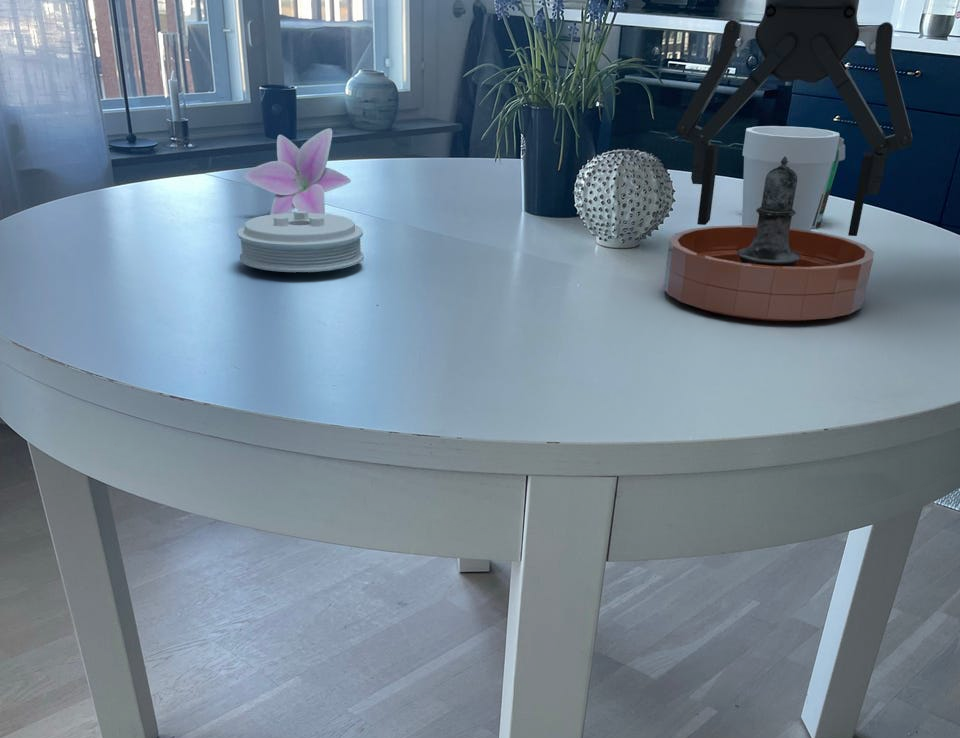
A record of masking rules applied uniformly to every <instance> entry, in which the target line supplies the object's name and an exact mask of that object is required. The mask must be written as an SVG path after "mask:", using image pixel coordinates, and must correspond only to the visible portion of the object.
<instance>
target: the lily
mask: <svg viewBox="0 0 960 738" xmlns="http://www.w3.org/2000/svg"><path fill="white" fill-rule="evenodd" d="M332 139H333V129H332V128H331V127H330V128H325V129H323V130H321V131H319V132H318V133H316V134H315V135H313V136H312V137H310V138H309V139H307V140H306V141H305V142H304V143H303V144H302V145H301V146H300V148H298V146H297V145H296V144H295V143H293V141H291V140H290V139H289V138H287V137H286V136H284V135H283V134H278V135H277V138H276V157H277V160H273V161H268V162H264V163H261V164H259V165H257V166H255V167H252V168H250V169H249V170H247V171H245V172H244V174H243V175H242V176H243V178H244V179H245V180H246V181H247V182H249V183H251V184H253V185H254V186H257V187H259V188H261V189H263V190H265V191H267V192H268V193H269V192H270V193H272V194H274V196H273V197H274V198H273V200H272V205H271V209H270V215H272V214H282V213H292V211H294V209H296V211H307V212H308V213H321V214H326V206H325V205H326V204H325V203H326V202H325V201H326V199H325V193H327V192H331V191H333V190H336V189H338V188H339V189H340V188H342V187H344V186H346V185H348V184H350V183H351V182H352V180H351V179H350V178H349V177H348V176H347V175H345V174H343V173H342V172H340V171H337V170H335V169H333V168H330V167H327V164H328V161H329V156H330V155H329V154H330V150H331V145H332V141H333V140H332Z"/></svg>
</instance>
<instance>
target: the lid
mask: <svg viewBox="0 0 960 738" xmlns="http://www.w3.org/2000/svg"><path fill="white" fill-rule="evenodd" d="M236 234H237V235H236V236H237V238H238V239H240V245H241V253H240V255H239V261H240V262H241V263H242V264H244V265H245V266H248V267H251V268H255V269H257V270H258V269H259V270H264V271H269V272H271V271H272V272H282V273H283V272H284V273H296V272H308V273H316V272H326V271H327V272H328V271H335V270H340V269H341V270H342V269H345V268H348V267H353V266H355V265H358V264H359V263H361V262H363V260H364V259H365V254H364V252H363V251H362V248H361V247H362V245H361V238H362V237H363V235H364V230H363V228H361V226H360V227H359V225H356V223H355V221H354V220H353V219H351V218H348V217H345V216H342V215H337V214H329V213H325V214H321V213H308V212H307V211H298V210H296V211H293V212H289V213H282V214H272V215H271V214H266V215H261V216H255V217H253V218H250V219H248V220H246V221H245V222H244V224H243V226H242V227H240V228H239V229H237V231H236Z"/></svg>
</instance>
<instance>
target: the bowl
mask: <svg viewBox="0 0 960 738" xmlns="http://www.w3.org/2000/svg"><path fill="white" fill-rule="evenodd" d="M756 231H757V226H744V225H742V224H741V225H740V224H738V225H733V224H732V225H712V226H704V227H695V228H690V229H689V228H688V229H685V230H682V231H679V232H677V233H674V235H672V236H671V237H670V238H669V240H668V248H667V257H666V264H665V265H666V266H665V274H664V282H663V287H664V289H665V292H666V293H667V295H668V296H670V297H672V298H673V299H675V300H677V301H678V302H679V303H682V304H686V305H689V306H692V307H695V308H698V309H701V310H704V311H707V312H710V313H714V314H717V315H721V316H727V317H732V318H738V319H745V320H753V321H764V322H767V321H768V322H807V320H808V321H816V320H824V319H833V318H837V317H841V316H842V317H843V316H847V315H851V314H852V313H854V312H857V311H859V310H860V309H862V308H863V306H864V302H865V297H866V293H867V288H868V283H869V279H870V274H871V270H872V266H873V260H874V255H875V251H874V250H872V249H871V248H870V247H868V246H867V245H866V244H863V243H861V242H858V241H855V240H852V239H850V238H847V237H843V236H839V235H834V234H830V233H826V232H820V231H813V230H811V231H808V230H801V229H793V228H790V230H789V247H790V248H791V250H792V251H793V252H795V253H798V254H799V255H800V256H801V259H800V260H799V261H797V262H796V267H788V266H768V265H758V264H748V263H740V262H739V261H740V257H739V256H738V255H737V252H738V251H739V250H740V249H744V248H747V247H749V246H750V245H751V244H752V242H753V239H754V237H755V234H756Z"/></svg>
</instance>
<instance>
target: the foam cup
mask: <svg viewBox="0 0 960 738" xmlns="http://www.w3.org/2000/svg"><path fill="white" fill-rule="evenodd" d="M840 136H841V135H840V132H837V131H832V130H829V129H821V128H815V127H802V126H782V125H781V126H780V125H763V126H762V125H761V126H752V127H746V129H745V135H744V141H743V148H742V154H741V155H742V157H743V177H742V179H743V181H742V209H741V211H742V212H741V214H742V215H741V225H744V226H757V225H758V218H759V214H758V212H756V210H757V209H758V208H760V207H761V205H762V199H763V192H764V186H765V180H766V176H767V174H768V173H769V172H770V171H771V170H773V169H775V168H777V167H778V166H781V164H782V163H781V161H782V159H783V158H784V157H785V156H786V158H787V161H788V162H787V164H786V166H787V167H789V169H791V170H793V171H794V172H795V173H796V175H797V185H796V190H795V196H794V202H793V208H792V209H793V210H794V211H795V212H796V214H795V215H793V216H792V218H791V224H790V228H793V229H801V230H808V231H812V229H813V228H812V225H813V222H814V219H815V215H816V212H817V209H818V206H819V203H820V200H821V196H822V193H823V190H824V187H825V184H826V180H827V177H828V174H829V171H830V168H831V165H832V161H835V157H836V151H837V146H838V141H839V137H840Z"/></svg>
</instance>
